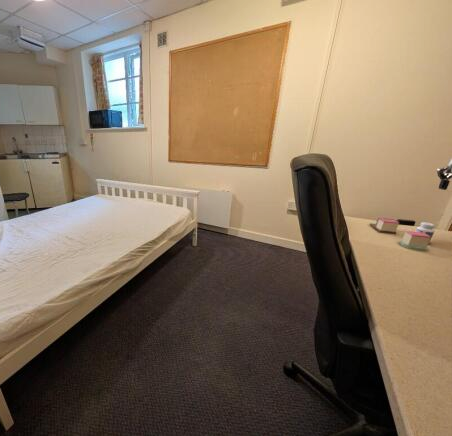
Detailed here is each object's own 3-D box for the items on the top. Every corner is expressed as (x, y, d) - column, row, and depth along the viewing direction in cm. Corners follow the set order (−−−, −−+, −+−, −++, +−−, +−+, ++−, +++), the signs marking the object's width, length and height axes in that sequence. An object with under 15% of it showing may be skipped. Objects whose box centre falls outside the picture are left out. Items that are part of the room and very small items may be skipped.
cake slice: (419, 242, 98) (423, 232, 96) (426, 247, 94) (431, 236, 92) (401, 240, 100) (405, 230, 98) (408, 245, 96) (412, 234, 94)
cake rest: (390, 228, 113) (394, 219, 112) (395, 232, 109) (399, 222, 108) (375, 227, 115) (379, 218, 114) (380, 230, 111) (383, 221, 110)
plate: (418, 243, 99) (419, 241, 99) (431, 252, 92) (432, 249, 92) (395, 241, 102) (396, 238, 102) (406, 249, 95) (407, 246, 95)
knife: (409, 229, 112) (413, 220, 110) (411, 230, 110) (415, 221, 109) (374, 225, 117) (377, 217, 115) (376, 227, 115) (379, 218, 113)
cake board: (384, 226, 119) (384, 224, 118) (395, 234, 109) (396, 232, 109) (369, 224, 121) (370, 223, 121) (379, 232, 112) (380, 230, 111)
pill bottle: (430, 242, 101) (438, 224, 98) (427, 245, 98) (436, 226, 95) (413, 238, 105) (420, 220, 102) (410, 240, 102) (418, 223, 99)
